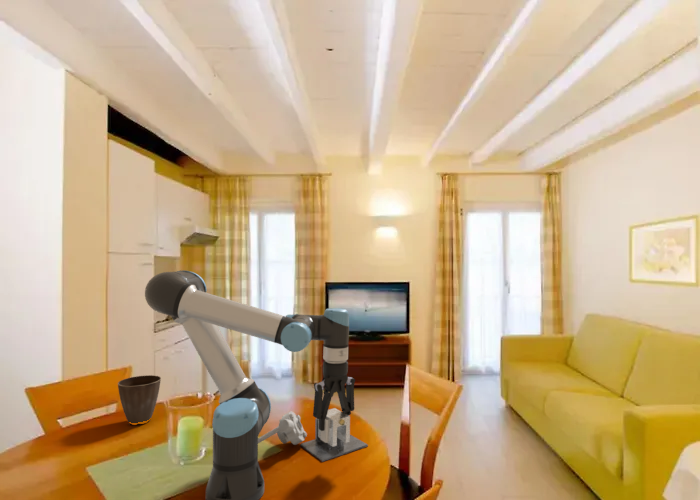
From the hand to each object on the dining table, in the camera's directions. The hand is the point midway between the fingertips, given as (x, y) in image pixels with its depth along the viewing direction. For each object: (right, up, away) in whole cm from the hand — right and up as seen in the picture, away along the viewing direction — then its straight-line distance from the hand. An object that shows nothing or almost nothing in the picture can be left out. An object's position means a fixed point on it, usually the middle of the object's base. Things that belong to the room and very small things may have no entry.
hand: (333, 437), depth 124 cm
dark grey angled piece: (0, -9, +15) cm, 18 cm away
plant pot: (-77, -10, +36) cm, 85 cm away
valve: (-20, -9, +14) cm, 26 cm away
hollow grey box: (0, 0, 0) cm, 0 cm away
